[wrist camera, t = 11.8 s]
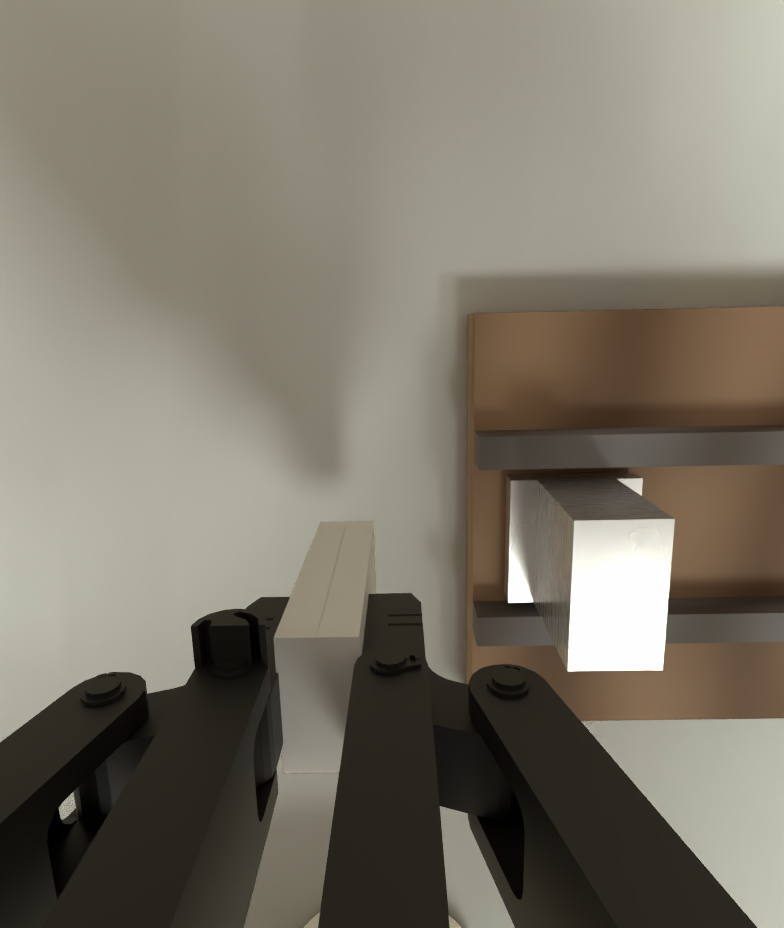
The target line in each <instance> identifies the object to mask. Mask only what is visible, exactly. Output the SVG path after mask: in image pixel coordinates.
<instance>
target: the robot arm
mask: <svg viewBox="0 0 784 928" xmlns="http://www.w3.org/2000/svg"><path fill="white" fill-rule="evenodd" d="M191 633H192V642H193V652H194V662H195V670H194V671H193V673H192V675H191V676H190V678H189V680H188V681H187V683H186V685H184V686H181V687H177V688H174V689H169V690H164V691H159V692H154V693H149V694H147V689H146V681H145V680H144V679H143V678H142V677H141V676H140V675H136V674H133V673H130V672H111V673H109V674H107V673H105V674H101V675H98V676H96V677H94V678H91V679H89V680H86V681H84V682H82V683H80V684H79V685H77V686H75V687H73V688H72V689H70V690H69V691H68V692H66V693H65V694H64V695H62V696H61V697H60V698H58V699H57V700H56V701H55V702H53V703H52V704H51V705H49V706H48V707H47V708H45V709H44V710H43V711H41V712H40V713H39V714H37V715H36V716H35V717H33V718H32V719H31V720H29V721H28V722H27V723H26V724H24V725H23V726H22V727H20V728H19V729H18V730H16V731H15V732H14V733H12V734H11V735H10V736H8V737H7V738H6V739H4V740H3V741H2V742H1V743H0V928H244V924H245V920H246V916H247V912H248V908H249V904H250V900H251V897H252V893H253V889H254V885H255V881H256V877H257V873H258V869H259V865H260V861H261V857H262V854H263V850H264V846H265V842H266V838H267V834H268V830H269V826H270V822H271V818H272V814H273V811H274V807H275V803H276V799H277V795H278V781H277V768H276V767H277V764H278V760H279V757H280V753H281V751H282V765H283V773H333V772H339V778H338V785H337V793H336V800H335V807H334V814H333V822H332V829H331V836H330V844H329V851H328V858H327V865H326V873H325V880H324V887H323V895H322V902H321V909H320V916H319V924H318V928H450V926H449V914H448V902H447V890H446V878H445V866H444V854H443V842H442V830H441V818H440V806H442V807H446V808H450V809H454V810H457V811H461V812H465V813H468V819H469V824H470V828H471V830H472V833H473V835H474V837H475V839H476V841H477V844H478V846H479V848H480V850H481V853H482V855H483V857H484V859H485V861H486V864H487V866H488V868H489V870H490V873H491V875H492V877H493V879H494V882H495V884H496V886H497V888H498V890H499V893H500V895H501V897H502V899H503V902H504V904H505V906H506V908H507V911H508V913H509V915H510V917H511V919H512V922H513V924H514V926H515V928H757V927H756V926H755V924H754V923H753V922H752V921H751V920H750V919H749V917H748V916H747V915H746V914H745V913H744V912H743V910H742V909H741V908H740V907H739V906H738V905H737V903H736V902H735V901H734V900H733V899H732V898H731V896H730V895H729V894H728V893H727V892H726V891H725V889H724V888H723V887H722V886H721V885H720V884H719V882H718V881H717V880H716V879H715V878H714V877H713V875H712V874H711V873H710V872H709V871H708V870H707V868H706V867H705V866H704V865H703V864H702V862H701V861H700V860H699V859H698V858H697V857H696V855H695V854H694V853H693V852H692V851H691V850H690V848H689V847H688V846H687V845H686V844H685V843H684V841H683V840H682V839H681V838H680V837H679V836H678V834H677V833H676V832H675V831H674V830H673V829H672V827H671V826H670V825H669V824H668V823H667V822H666V820H665V819H664V818H663V817H662V816H661V815H660V813H659V812H658V811H657V810H656V809H655V808H654V806H653V805H652V804H651V803H650V802H649V801H648V799H647V798H646V797H645V796H644V795H643V794H642V792H641V791H640V790H639V789H638V788H637V787H636V785H635V784H634V783H633V782H632V781H631V780H630V778H629V777H628V776H627V775H626V774H625V773H624V771H623V770H622V769H621V768H620V767H619V766H618V764H617V763H616V762H615V761H614V760H613V759H612V757H611V756H610V755H609V754H608V753H607V752H606V750H605V749H604V748H603V747H602V746H601V744H600V743H599V742H598V741H597V740H596V739H595V737H594V736H593V735H592V734H591V733H590V732H589V730H588V729H587V728H586V727H585V726H584V725H583V723H582V722H581V721H580V720H579V719H578V718H577V716H576V715H575V714H574V713H573V712H572V711H571V709H570V708H569V707H568V706H567V705H566V704H565V702H564V701H563V700H562V699H561V698H560V697H559V695H558V694H557V693H556V692H555V691H554V690H553V688H552V687H551V686H550V685H549V684H548V683H547V681H546V680H545V679H544V678H542V677H541V676H540V675H539V674H537V673H536V672H534V671H532V670H529V669H527V668H524V667H522V666H518V665H512V664H498V665H490V666H487V667H483V668H480V669H479V670H478V671H476V672H475V673H473V674H472V676H471V678H470V680H469V684H464V683H458V682H455V681H451V680H447V679H445V678H443V677H441V676H439V675H437V674H436V673H434V672H433V671H432V670H431V669H430V668H429V667H428V664H427V661H426V659H425V647H424V635H423V623H422V611H421V602H420V601H419V600H418V599H417V598H416V597H414V596H413V595H412V594H411V593H392V594H376V578H375V545H374V521H354V522H320V524H319V527H318V529H317V532H316V534H315V537H314V539H313V542H312V544H311V547H310V549H309V552H308V554H307V557H306V559H305V561H304V564H303V566H302V569H301V571H300V574H299V576H298V579H297V581H296V584H295V586H294V589H293V591H292V594H291V596H290V597H261V598H259V599H258V600H257V601H255V602H254V603H252V604H251V605H249V606H248V607H247V608H246V609H231V610H223V611H219V612H215V613H211V614H209V615H207V616H204V617H202V618H200V619H198V620H197V621H196V622H195V623H194V624H193V625H192V626H191ZM72 792H74V798H75V804H76V809H75V810H74V811H73V812H72V813H71V814H70V815H69V816H68V817H66V818H65V819H64V820H61V818H60V814H59V806H60V805H61V804H62V802H63V801H64V800H65V799H66V798H67V797H68V796H69V795H70V794H71V793H72Z"/></svg>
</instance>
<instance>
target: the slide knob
mask: <svg viewBox="0 0 784 928" xmlns="http://www.w3.org/2000/svg"><path fill="white" fill-rule="evenodd" d="M642 485H643V478H642V477H640V476H638V475H637V474H635V473H633V472H622V473H569V474H516V475H506V511H505V562H504V593H505V596H506V598H507V601H508V603H519V602H533V603H534V605H535V607H536V609H537V611H538V613H539V615H540V617H541V619H542V621H543V623H544V625H545V627H546V629H547V631H548V633H549V635H550V637H551V639H552V641H553V643H554V645H555V647H556V649H557V651H558V653H559V655H560V657H561V659H562V661H563V663H564V665H565V667H566V669H567V671H619V670H663V659H664V647H665V634H666V622H667V610H668V598H669V586H670V574H671V561H672V549H673V537H674V525H675V519H674V518H673V517H671V516H670V515H669V514H667V513H666V512H664V511H663V510H661V509H660V508H658V507H657V506H655V505H654V504H652V503H651V502H650V501H648V500H647V499H645V498H644V497H642Z"/></svg>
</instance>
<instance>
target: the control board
mask: <svg viewBox="0 0 784 928" xmlns="http://www.w3.org/2000/svg"><path fill="white" fill-rule="evenodd" d="M622 472H633V473H635V474H637V475H638V476H640V477H642V478H643V485H642V497H644V498H645V499H647V500H648V501H650V502H651V503H652V504H654V505H655V506H657V507H658V508H660V509H661V510H663V511H664V512H666V513H667V514H669V515H670V516H671V517H673V518H674V519H675V525H674V537H673V549H672V561H671V574H670V586H669V598H668V610H667V622H666V634H665V647H664V659H663V670H619V671H567V669H566V667H565V665H564V663H563V661H562V659H561V657H560V655H559V653H558V651H557V649H556V647H555V645H554V643H553V641H552V639H551V637H550V635H549V633H548V631H547V629H546V627H545V625H544V623H543V621H542V619H541V617H540V615H539V613H538V611H537V609H536V607H535V605H534V603H533V602H519V603H508V601H507V598H506V596H505V593H504V562H505V511H506V475H516V474H569V473H622ZM498 664H512V665H518V666H522V667H524V668H527V669H529V670H532V671H534V672H536V673H537V674H539V675H540V676H541V677H542V678H544V679H545V680H546V681H547V683H548V684H549V685H550V686H551V687H552V688H553V690H554V691H555V692H556V693H557V694H558V695H559V697H560V698H561V699H562V700H563V701H564V702H565V704H566V705H567V706H568V707H569V708H570V709H571V711H572V712H573V713H574V714H575V715H576V716H577V718H578V719H579V720H580V721H603V720H681V719H759V718H784V306H774V307H729V308H685V309H641V310H597V311H553V312H508V313H474V314H469V315H468V343H467V546H466V684H469V680H470V678H471V676H472V674H473V673H475V672H476V671H478V670H479V669H480V668H483V667H487V666H490V665H498Z"/></svg>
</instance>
